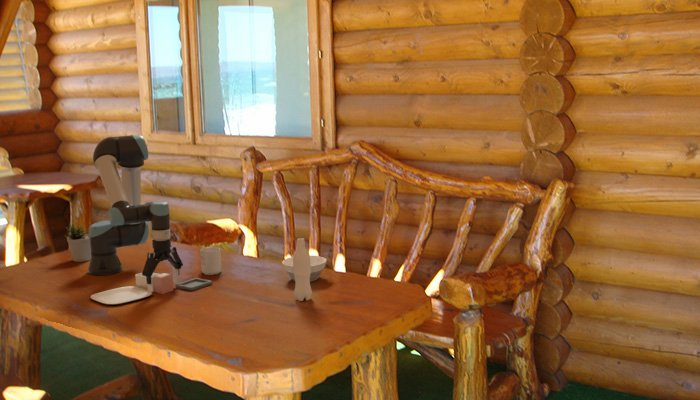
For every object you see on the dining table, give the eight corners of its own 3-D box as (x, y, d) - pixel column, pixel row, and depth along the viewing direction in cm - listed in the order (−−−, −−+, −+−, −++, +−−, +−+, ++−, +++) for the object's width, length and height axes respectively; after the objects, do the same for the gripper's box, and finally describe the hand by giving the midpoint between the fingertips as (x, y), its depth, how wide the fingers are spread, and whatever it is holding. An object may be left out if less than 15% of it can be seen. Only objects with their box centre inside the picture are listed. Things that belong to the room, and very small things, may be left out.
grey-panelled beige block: (136, 287, 355) (135, 274, 353) (147, 284, 359) (146, 271, 358) (153, 291, 348) (152, 277, 347) (164, 288, 353) (163, 274, 352)
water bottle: (314, 297, 332) (312, 237, 327) (308, 302, 325) (305, 241, 321) (298, 296, 334) (295, 236, 330) (291, 301, 327) (288, 240, 323)
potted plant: (74, 256, 416) (70, 218, 412) (99, 256, 414) (96, 218, 410) (62, 263, 403) (58, 223, 400) (88, 263, 402) (84, 223, 398)
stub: (154, 292, 347) (153, 275, 346) (165, 288, 352) (164, 272, 351) (162, 293, 344) (161, 277, 343) (173, 290, 349) (172, 274, 348)
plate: (131, 288, 356) (131, 284, 356) (158, 297, 341) (158, 293, 341) (84, 299, 341) (84, 295, 341) (110, 309, 326) (110, 305, 326)
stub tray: (175, 287, 353) (175, 284, 352) (196, 281, 362) (196, 277, 362) (191, 291, 347) (191, 287, 347) (212, 284, 356) (212, 280, 356)
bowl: (301, 288, 346) (300, 269, 345) (274, 279, 361) (273, 261, 359) (336, 278, 359) (335, 260, 357) (308, 270, 373) (307, 253, 372)
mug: (225, 272, 375) (223, 249, 373) (208, 276, 369) (206, 252, 367) (211, 268, 384) (210, 244, 382) (195, 271, 378) (193, 248, 377)
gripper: (143, 245, 332) (146, 296, 336) (189, 234, 351) (191, 281, 355) (131, 243, 336) (134, 293, 340) (177, 232, 356) (180, 278, 360)
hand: (163, 287), depth 348 cm, fingers open, 13 cm apart
